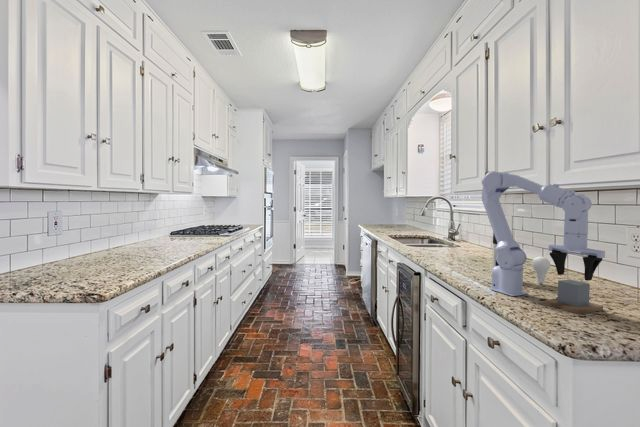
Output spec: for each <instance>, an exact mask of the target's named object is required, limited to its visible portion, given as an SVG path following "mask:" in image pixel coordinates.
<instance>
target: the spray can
mask: <svg viewBox="0 0 640 427" xmlns="http://www.w3.org/2000/svg"><path fill="white" fill-rule="evenodd" d="M492 233H493V234H492V259H491V260H492V261H491V263H492V265H491V271H492V270H493V268H494V267H495V266H500V265H499V264H498V263H497V260H496V256H497V253H496V250H495V249H496V246H497V244H498V243H497V240H496V238H495V235H494V232H492Z"/></svg>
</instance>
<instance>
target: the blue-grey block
mask: <svg viewBox="0 0 640 427" xmlns="http://www.w3.org/2000/svg"><path fill="white" fill-rule="evenodd" d="M590 287H591V285H590V283H589V282H584V281H579V280H574V279H571V278H569V279H560V280H558V281H557V298H558V299H557V301H558V302H561V303H565V304H568V305H572V306H575V307H580V306H585V305H589V302H590V290H591V289H590Z"/></svg>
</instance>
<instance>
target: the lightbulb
mask: <svg viewBox="0 0 640 427" xmlns="http://www.w3.org/2000/svg"><path fill="white" fill-rule="evenodd" d="M531 266H532V268H533V270H534V271H535V277H536V283H538V284H539V285H543V284H545V281H546V277H547V273H548V272H549V270H550V269H551V267H552V264H551V261H550V260H549V259H548V258H547V257H545V256H537V257H535V258H533V260H532V262H531Z"/></svg>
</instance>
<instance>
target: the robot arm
mask: <svg viewBox="0 0 640 427" xmlns="http://www.w3.org/2000/svg"><path fill="white" fill-rule="evenodd" d="M481 185H482V190H481V201H482V205H483V207H484V210H485V213H486V215H487V218H488V220H489V223H490V226H491V229H492V231H493V232H494V235H495V238H496V240H497V243H498V244H497V246H496V249H495V250H496V253H497V256H496V260H497V263H498V264H499V265H500V266H495V267H494V268H493V270H492V269H491V287H490V288H489V290H491V291H494V292H496V293H501V294H504V295H506V296H507V295H508V296H511V297H516V296H517V297H518V296H523V295H529V292H528V291H523V290H524V289H523V285H524V284H523V282H524V280H523V279H524V266H523V265H524V264H525V263H527V254H526V252H525V250H523V249H522V248H521V246H520V243H519V242H517V241H516V240H515V238H514V236H513V234H512V231H511V228H510V226H509V223H508V220H507V218H506V215H505V212H504V210H503V207H502V203H501V202H500V199H501V196H503V194H504V193H505V192H506V191H508V190H509V189H510V188H514V187H517V188H519V189H522V190H524V191H527V192H531V193H533V194H536V195H537V196H538V198H539V200H540V201H542V202H544V203H547V204H551V205H552V206H555V207H557V208H560V209H562V210H563V211H564V222H563V245H559V244H548V251H549V256H550V258H551V259H552V261H553V263H554V265H555V269H556V273H557V275H558V276H561V275H564V274H565V273H566V272H565V269H566V266H565V265H566V260H567V259H566V258H567V256H568V254H573V255H580V256H582V260H583V261H582V262H583V265H584V266H583V267H584V280H585V281H586V282H588V281H592V280H593V277H594V273H595V272H596V270H597V267H598V266H599V265H600V264H601V262H602V261H603V259H604V258H606V250H600V249H593V248H588V235H589V234H588V233H589V210H590V209H591V208H592V201H591V199H590V198H589V197H588V196H586V195H585V194H581V193H579V194H575V193H576V191H575V190H567V189H565V188H562V187H560V184H557V183H553V184H551V183H549V184H548V183H547V184H545V185H542V184H540V183H537V182H535V181H532V180H531V179H527V178H525V177H523V176H520V175H517V174H514V173H513V174H512V173H509V172H505V171H504V172H500V171H495V170H491V171H489V172H487V173H486V174H485V175H484V177H483V179H482V180H481ZM493 232H492V233H493Z"/></svg>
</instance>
